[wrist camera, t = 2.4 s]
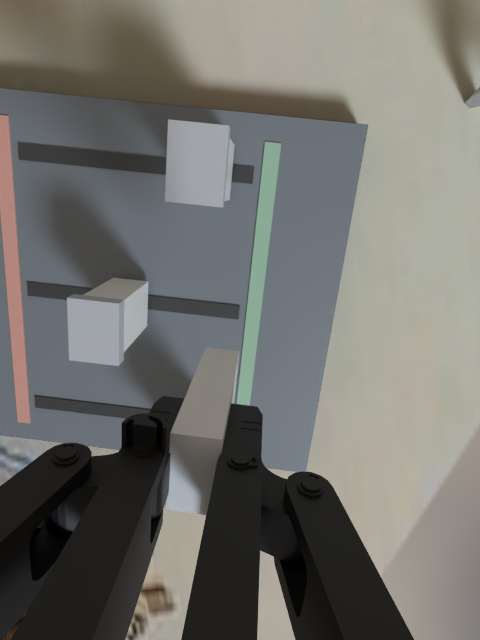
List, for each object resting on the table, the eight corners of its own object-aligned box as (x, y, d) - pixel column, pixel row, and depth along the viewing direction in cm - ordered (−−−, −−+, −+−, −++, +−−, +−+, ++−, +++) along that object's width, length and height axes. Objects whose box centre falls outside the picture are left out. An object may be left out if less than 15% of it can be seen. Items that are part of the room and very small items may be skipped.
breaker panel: (-25, 416, 34) (-42, 430, 32) (-64, 87, 27) (-90, 78, 25) (303, 456, 34) (305, 473, 32) (360, 129, 26) (368, 124, 24)
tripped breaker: (110, 324, 28) (69, 360, 22) (110, 274, 27) (66, 297, 21) (149, 329, 28) (118, 366, 22) (151, 278, 27) (119, 303, 21)
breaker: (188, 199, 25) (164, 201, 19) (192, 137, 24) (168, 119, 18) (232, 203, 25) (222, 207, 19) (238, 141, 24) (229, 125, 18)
